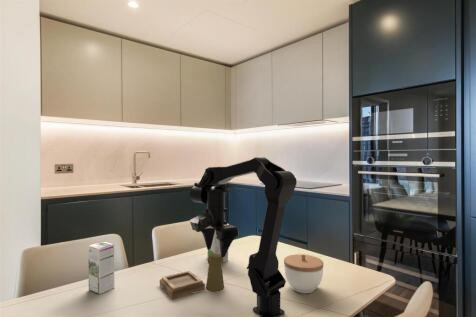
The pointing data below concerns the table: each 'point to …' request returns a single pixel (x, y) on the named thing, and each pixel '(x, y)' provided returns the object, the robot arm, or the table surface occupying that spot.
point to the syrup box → (101, 267)
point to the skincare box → (217, 247)
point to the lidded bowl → (303, 272)
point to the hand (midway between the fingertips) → (215, 253)
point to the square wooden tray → (181, 284)
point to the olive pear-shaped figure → (215, 273)
